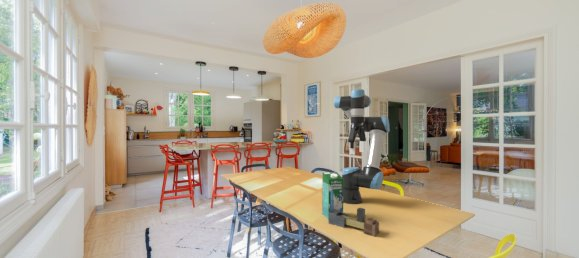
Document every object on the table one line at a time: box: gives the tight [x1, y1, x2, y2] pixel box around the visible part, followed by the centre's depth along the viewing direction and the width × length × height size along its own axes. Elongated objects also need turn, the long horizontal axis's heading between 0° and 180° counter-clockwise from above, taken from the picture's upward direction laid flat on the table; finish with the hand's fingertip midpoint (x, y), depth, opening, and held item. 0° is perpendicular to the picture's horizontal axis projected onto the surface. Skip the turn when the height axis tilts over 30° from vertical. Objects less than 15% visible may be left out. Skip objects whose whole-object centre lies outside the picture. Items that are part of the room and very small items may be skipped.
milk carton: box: [321, 171, 344, 221], centre depth 138 cm, size 9×9×25 cm
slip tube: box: [341, 207, 367, 230], centre depth 122 cm, size 3×17×9 cm, turn 52°
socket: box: [363, 217, 380, 237], centre depth 117 cm, size 6×5×6 cm
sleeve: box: [328, 209, 350, 228], centre depth 128 cm, size 6×9×6 cm
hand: (357, 153), depth 138 cm, fingers open, 13 cm apart
